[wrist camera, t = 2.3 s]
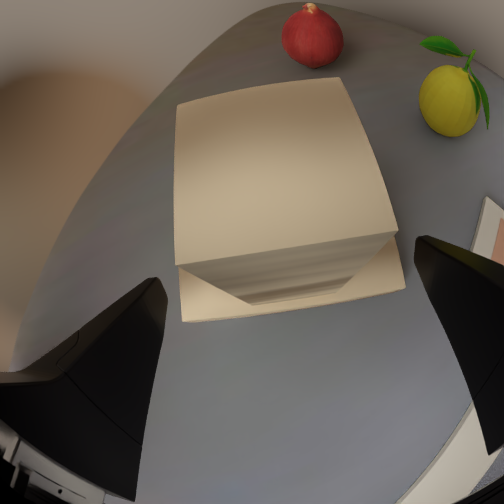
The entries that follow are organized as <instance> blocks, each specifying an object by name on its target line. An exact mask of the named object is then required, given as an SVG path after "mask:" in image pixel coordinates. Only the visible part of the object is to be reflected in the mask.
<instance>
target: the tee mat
mask: <svg viewBox="0 0 504 504" xmlns="http://www.w3.org/2000/svg"><path fill="white" fill-rule="evenodd" d="M470 251H471V252H473V253H476V254H478V255H481V256H483V257H486V258H488V259H491V260H493V261H495V262H498V263H500V264H502V265H504V210H503V209H501V208H500V207H499V206H498V205H497V204H496V203H494V202H493V201H492V200H491V199H490V198H488V197H487V196H486V197H485V198H484V199H483V203H482V208H481V212H480V216H479V220H478V224H477V228H476V231H475V235H474V238H473V242H472V245H471V248H470ZM502 448H503V447H502ZM502 448H501V449H502ZM501 449H499V450H498V451H496V452H494V453H493V454H491V455H489V456H488V453H487V450H486V446H485V441H484V438H483V434H482V430H481V426H480V423H479V420H478V416H477V413H476V410H475V407H474V404H473V401H472V402H471V404H470V406H469V408H468V409H467V411H466V413H465V414H464V416H463V418H462V419H461V421H460V422H459V424H458V425H457V427H456V429H455V430H454V432H453V433H452V435H451V436H450V438H449V439H448V440H447V442H446V443H445V445H444V446H443V447H442V449H441V450H440V452H439V453H438V454H437V456H436V457H435V458H434V459H433V461H432V462H431V463H430V465H429V466H428V467H427V468H426V469H425V471H424V472H423V473H422V474H421V475H420V477H419V478H418V479H417V480H416V481H415V482H414V483H413V485H412V486H411V487H410V488H409V489H408V490H407V491H406V492H405V493H404V494H403V495H402V496H401V498H400V499H399V500H398V501H397V502H396V503H395V504H452V503H454V502H456V501H458V500H460V499H462V498H464V497H466V496H468V495H469V493H470V492H471V491H472V490H473V488H474V487H475V486H476V485H477V483H478V482H479V481H480V480H481V478H482V477H483V476H484V474H485V473H486V472H487V470H488V469H489V467H490V466H491V464H492V463H493V462H494V460H495V459H496V457H497V456H498V454H499V453H500V451H501Z"/></svg>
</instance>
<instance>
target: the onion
mask: <svg viewBox="0 0 504 504" xmlns="http://www.w3.org/2000/svg"><path fill="white" fill-rule="evenodd" d="M302 7H303V10H300V11H298V12H296V13H294V14H293V15H292V16H290V18H289V19H288V20H287V21H286V23H285V24H284V26H283V30H282V45H283V48H284V50H285V51H286V52H287V53H288V54H289V56H290V57H291V58H292V59H294V60H295V61H297V62H299V63H301V64H303V65H306V66H308V67H310V68H318V67H321V66H324V65H327V64H329V63H331V62H333V61H335V60H336V58H337V57H338V56H339V55H340V53H341V52H342V49H343V45H344V43H343V35H342V31H341V28H340V26H339V25H338V23H337V22H336V21H335V20H334V19H333V18H332V17H331V16H330V15H328V14H327V13H326V12H324V11H322V10H320V9H319V8H318V7H317V6H316V5H314V4H313V3H307V4H305V5H304V6H302Z"/></svg>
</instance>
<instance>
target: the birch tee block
mask: <svg viewBox="0 0 504 504" xmlns="http://www.w3.org/2000/svg"><path fill="white" fill-rule="evenodd" d="M397 232H398V226H397V223H396V219H395V216H394V212H393V209H392V205H391V202H390V199H389V196H388V193H387V190H386V186H385V183H384V181H383V178H382V175H381V172H380V169H379V166H378V164H377V161H376V158H375V156H374V153H373V150H372V148H371V145H370V143H369V140H368V138H367V135H366V133H365V131H364V128H363V126H362V123H361V121H360V119H359V117H358V114H357V112H356V110H355V108H354V106H353V104H352V101H351V99H350V97H349V95H348V93H347V91H346V89H345V87H344V85H343V83H342V81H341V79H340V77H335V78H320V79H309V80H299V81H291V82H283V83H276V84H269V85H263V86H257V87H252V88H246V89H241V90H236V91H231V92H227V93H222V94H218V95H214V96H209V97H205V98H201V99H198V100H194V101H190V102H187V103H183V104H180V105H177V114H176V131H175V156H174V243H175V265H176V266H178V267H179V282H180V297H181V310H182V321H183V322H203V321H213V320H223V319H232V318H240V317H249V316H257V315H265V314H272V313H279V312H286V311H293V310H300V309H306V308H313V307H319V306H325V305H331V304H336V303H342V302H348V301H353V300H358V299H364V298H369V297H374V296H379V295H384V294H388V293H393V292H397V291H399V290H402V289H404V288H406V286H405V281H404V276H403V271H402V266H401V261H400V257H399V253H398V248H397V244H396V240H395V236H394V235H395V234H396V233H397Z"/></svg>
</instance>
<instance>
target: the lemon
mask: <svg viewBox="0 0 504 504" xmlns="http://www.w3.org/2000/svg"><path fill="white" fill-rule="evenodd" d="M420 45H422V46H423V47H425V48H427V49H429V50H431V51H434V52H437V53H440V54H444V55H448V56H452V57H457V58H458V57H462V56H467V57H469V59H468V60H467V63H466V65H465V68H460V67H457V66H452V65H444V66H440V67H438V68H436V69H434V70H433V71H431V72H430V73H429V75H428V76H427V77H426V79H425V80H424V82H423V84H422V86H421V88H420V92H419V106H420V110H421V113H422V115H423V117H424V119H425V121H426V122H427V124H428V125H429V126H430V127H431V128H432V129H433V130H434V131H436V132H437V133H439V134H442V135H444V136H448V137H457V136H461V135H463V134H465V133H467V132H468V131H470V130H471V129H472V127H473V126H474V124H475V123H476V121H477V118H478V115H479V112H480V107H481V100H482V103H483V107H484V112H485V116H486V123H487V129H488V124H489V103H488V98H487V94H486V92H485V90H484V88H483V86H482V84H481V83H480V82H479V80H478V79H477V78H476V77H475V76H474V74H473V73H472V71H471V68H470V62H471V60H472V58H473V56H474V54H475V52H476V50H473V51H472V53H471V55H465V54H463V53H462V52H461V51H460V50H459V49H458V47H457V46H456V45H455V44H454V43H453V42H451V41H450V40H449V39H447V38H444V37H442V36H431V37H428V38H426V39H424V40H423V41H422V42H421V43H420ZM468 66H469V69H470V71H471V74H472V76H473V78H472V77H471V76H470V74H469V72H468V71H467V69H468Z"/></svg>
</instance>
